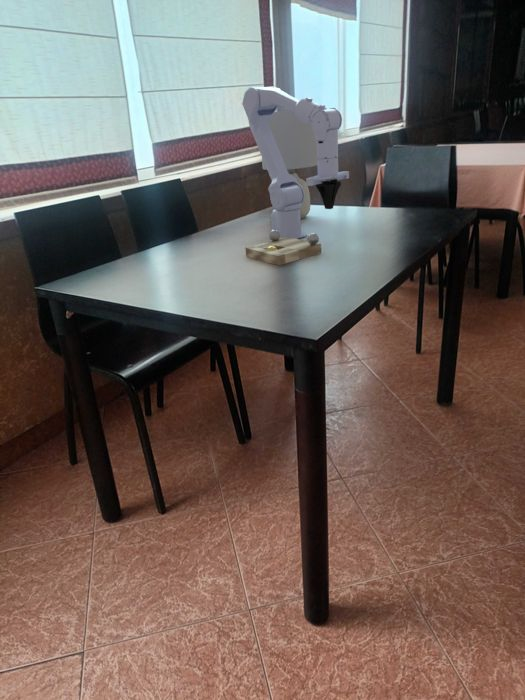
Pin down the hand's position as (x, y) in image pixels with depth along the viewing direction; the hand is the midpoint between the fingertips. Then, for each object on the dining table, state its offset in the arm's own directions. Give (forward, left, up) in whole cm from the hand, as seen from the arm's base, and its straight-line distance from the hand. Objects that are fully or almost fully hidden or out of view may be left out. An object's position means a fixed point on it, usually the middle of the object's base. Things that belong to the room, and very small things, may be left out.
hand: (329, 208), depth 141 cm
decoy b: (+5, -11, -6) cm, 13 cm away
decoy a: (-8, -14, -6) cm, 17 cm away
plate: (-2, -17, -10) cm, 19 cm away
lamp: (-39, +19, -10) cm, 45 cm away
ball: (-2, -20, -8) cm, 22 cm away
